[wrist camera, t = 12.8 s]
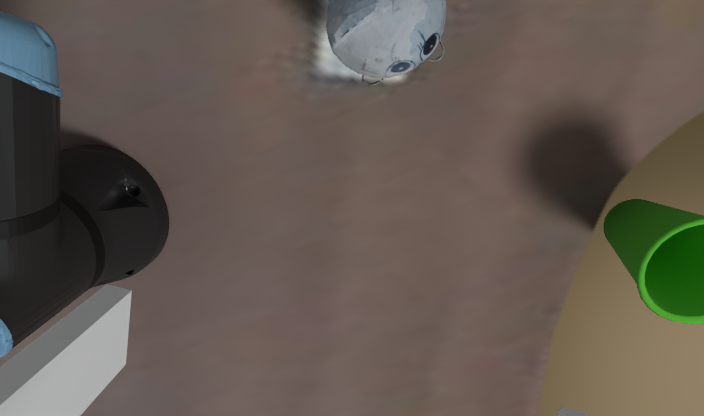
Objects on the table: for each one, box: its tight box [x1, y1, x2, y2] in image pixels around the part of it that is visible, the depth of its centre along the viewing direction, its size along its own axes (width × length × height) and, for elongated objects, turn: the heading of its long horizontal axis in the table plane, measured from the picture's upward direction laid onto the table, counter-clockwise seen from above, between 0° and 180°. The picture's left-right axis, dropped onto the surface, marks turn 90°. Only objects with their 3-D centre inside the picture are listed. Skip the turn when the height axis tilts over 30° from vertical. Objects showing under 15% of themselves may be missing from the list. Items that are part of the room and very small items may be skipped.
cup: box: [604, 199, 704, 323], centre depth 38 cm, size 9×9×11 cm
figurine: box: [326, 0, 446, 86], centre depth 33 cm, size 10×9×15 cm
